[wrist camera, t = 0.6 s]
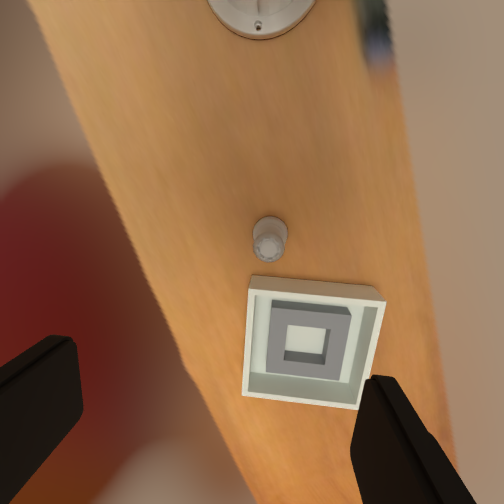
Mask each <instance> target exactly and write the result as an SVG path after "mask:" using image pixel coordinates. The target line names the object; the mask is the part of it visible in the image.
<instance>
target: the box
mask: <svg viewBox="0 0 504 504" xmlns="http://www.w3.org/2000/svg"><path fill="white" fill-rule="evenodd" d="M385 307H386V301H385V299H384V298H383V297H382V296H381V295H380V294H379V293H378V291H377V290H376V289H375V288H374V287H373V286H367V285H356V284H346V283H335V282H324V281H313V280H302V279H291V278H280V277H269V276H259V275H252V277H251V281H250V285H249V289H248V305H247V321H246V336H245V352H244V368H243V383H242V396H249V397H258V398H266V399H274V400H282V401H290V402H298V403H306V404H314V405H322V406H330V407H338V408H346V409H354V410H359V405H360V401H361V396H362V391H363V387H364V383H365V380H366V379H369V375H370V371H371V366H372V362H373V358H374V353H375V349H376V345H377V341H378V336H379V332H380V328H381V324H382V319H383V315H384V311H385Z"/></svg>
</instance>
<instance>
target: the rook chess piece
mask: <svg viewBox="0 0 504 504" xmlns="http://www.w3.org/2000/svg"><path fill="white" fill-rule="evenodd" d="M287 237H288V231H287V227H286V225H285V223H284V222H283V221H281V220H280V219H279V218H276V217H273V216H269V217H264V218H262V219H260V220H259V221H258V222H257V223H256V224H255V226H254V229H253V240H254V244H253V251H254V253H255V255H256V257H257V258H259V259H260V260H261V261H264V262H274V261H276V260H278V259H279V258H280V257H281V256H282V255H283V253H284V250H285V246H284V244H285V243H286V240H287Z"/></svg>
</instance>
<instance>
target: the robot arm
mask: <svg viewBox="0 0 504 504" xmlns="http://www.w3.org/2000/svg"><path fill="white" fill-rule="evenodd" d="M207 1H208V3H209V5H210V7H211V9H212V11H213V12H214V14H215V15H216V16H217V18H218V19H219V20H220V21H221V22H222V23H223V24H224V25H225V26H226V27H227V28H228V29H229V30H231V31H233V32H235V33H236V34H238V35H240V36H243V37H246V38H249V39H268V38H273V37H276V36H279V35H281V34H284V33H285V32H287V31H289V30H290V29H292V28H293V27H295V26H296V25H297V24H298V23H299V22H300V21H301V20H302V19H303V18H304V17H305V16H306V14H307V13H308V12H309V11H310V9H311V8H312V7H313V5H314V3H315V1H316V0H207ZM257 28H260V29H261V30H259V31H256V29H257ZM82 413H83V399H82V390H81V381H80V371H79V363H78V353H77V346H76V343H75V342H73V339H72V338H71V337H68V336H60V335H49V336H47V337H46V338H44V339H43V340H41V341H40V342H38V343H37V344H35V345H34V346H32V347H30V348H29V349H27V350H26V351H24V352H23V353H21V354H20V355H18V356H17V357H15V358H14V359H12V360H11V361H9V362H8V363H6V364H5V365H3V366H2V367H0V504H9V503H10V501H11V500H12V499H13V498H14V497H15V495H16V494H17V493H18V492H19V491H20V489H21V488H22V487H23V486H24V485H25V483H26V482H27V481H28V480H29V479H30V477H31V476H32V475H33V474H34V473H35V472H36V470H37V469H38V468H39V467H40V466H41V464H42V463H43V462H44V461H45V460H46V459H47V457H48V456H49V455H50V454H51V453H52V451H53V450H54V449H55V448H56V447H57V446H58V444H59V443H60V442H61V441H62V440H63V438H64V437H65V436H66V435H67V434H68V432H69V431H70V430H71V429H72V428H73V427H74V425H75V424H76V423H77V422H78V420H79V419H80V417H81V415H82ZM350 456H351V461H352V465H353V469H354V472H355V476H356V480H357V483H358V487H359V491H360V494H361V498H362V502H363V504H476V502H475V501H474V499H473V497H472V496H471V494H470V493H469V491H468V489H467V488H466V486H465V485H464V483H463V481H462V480H461V478H460V477H459V475H458V473H457V472H456V470H455V469H454V467H453V466H452V464H451V462H450V461H449V459H448V458H447V456H446V454H445V453H444V451H443V450H442V448H441V447H440V445H439V443H438V442H437V440H436V439H435V438H434V436H433V435H432V434H430V433H429V432H428V431H427V429H426V428H425V426H424V424H423V423H422V421H421V419H420V418H419V416H418V415H417V413H416V411H415V410H414V408H413V406H412V405H411V403H410V402H409V400H408V398H407V397H406V395H405V394H404V392H403V390H402V389H401V387H400V385H399V384H398V382H397V381H396V379H395V378H394V377H390V376H382V375H372V376H371V379H366V380H365V383H364V387H363V391H362V396H361V401H360V405H359V410H358V414H357V419H356V423H355V428H354V432H353V437H352V441H351V446H350Z"/></svg>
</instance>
